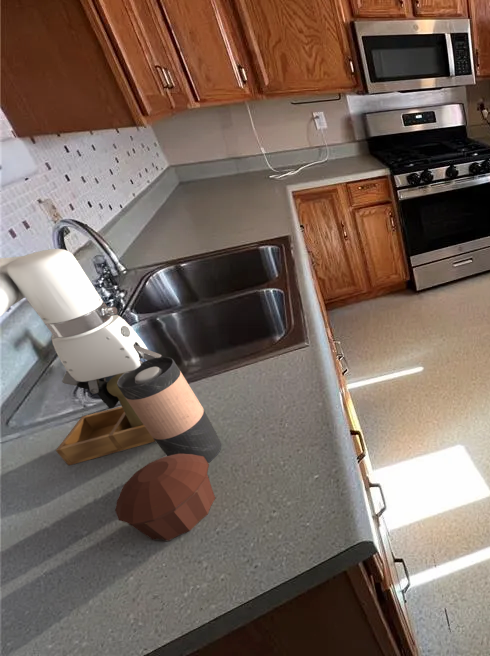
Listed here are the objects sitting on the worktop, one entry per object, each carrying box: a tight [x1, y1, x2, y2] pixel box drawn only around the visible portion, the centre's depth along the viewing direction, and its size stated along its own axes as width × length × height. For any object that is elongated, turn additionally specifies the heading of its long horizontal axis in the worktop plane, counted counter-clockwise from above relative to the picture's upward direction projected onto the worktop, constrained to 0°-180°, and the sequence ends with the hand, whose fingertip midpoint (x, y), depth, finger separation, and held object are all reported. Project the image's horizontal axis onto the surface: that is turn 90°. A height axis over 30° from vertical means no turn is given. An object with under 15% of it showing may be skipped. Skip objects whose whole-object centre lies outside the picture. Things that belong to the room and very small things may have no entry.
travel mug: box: [117, 356, 222, 464], centre depth 71 cm, size 8×8×20 cm
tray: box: [55, 405, 156, 466], centre depth 81 cm, size 16×9×4 cm, turn 109°
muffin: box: [114, 454, 216, 542], centre depth 64 cm, size 12×11×10 cm
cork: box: [107, 372, 144, 428], centre depth 80 cm, size 6×6×11 cm
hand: (133, 397), depth 79 cm, fingers closed on cork, 5 cm apart
